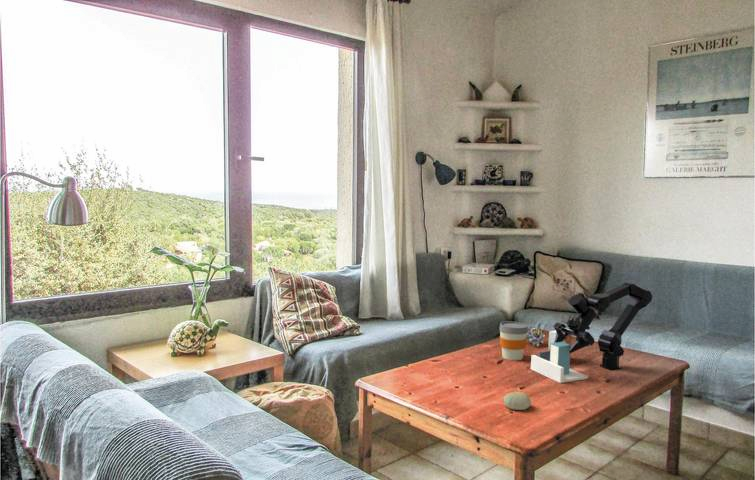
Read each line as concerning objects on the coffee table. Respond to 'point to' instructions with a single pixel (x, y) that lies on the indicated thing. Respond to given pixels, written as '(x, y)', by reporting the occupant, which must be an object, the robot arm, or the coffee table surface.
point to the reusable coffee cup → (513, 339)
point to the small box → (552, 338)
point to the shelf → (553, 368)
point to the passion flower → (534, 335)
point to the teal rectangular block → (560, 355)
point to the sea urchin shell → (517, 401)
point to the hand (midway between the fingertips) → (561, 349)
